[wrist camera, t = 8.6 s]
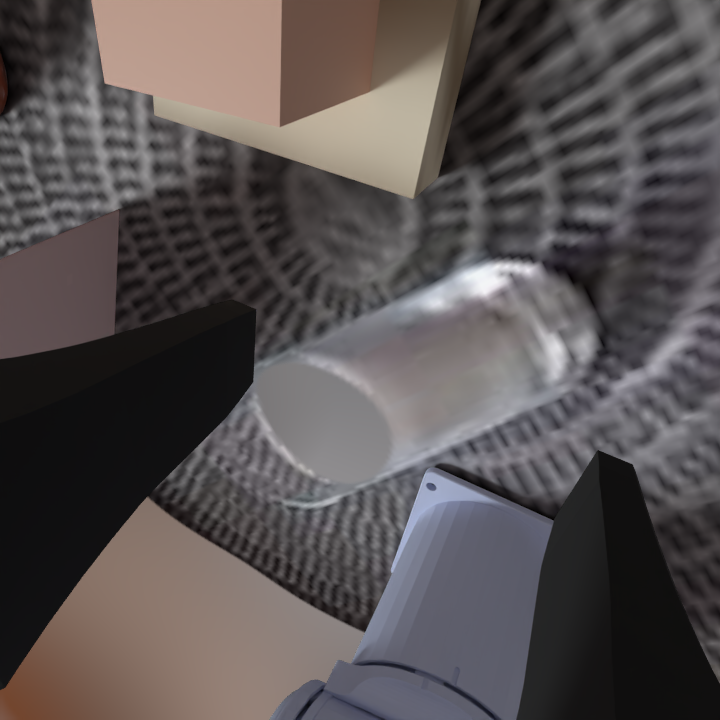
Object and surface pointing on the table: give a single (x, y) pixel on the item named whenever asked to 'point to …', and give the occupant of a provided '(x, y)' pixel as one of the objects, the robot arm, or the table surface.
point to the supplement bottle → (3, 85)
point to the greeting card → (60, 290)
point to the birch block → (374, 104)
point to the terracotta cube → (240, 53)
